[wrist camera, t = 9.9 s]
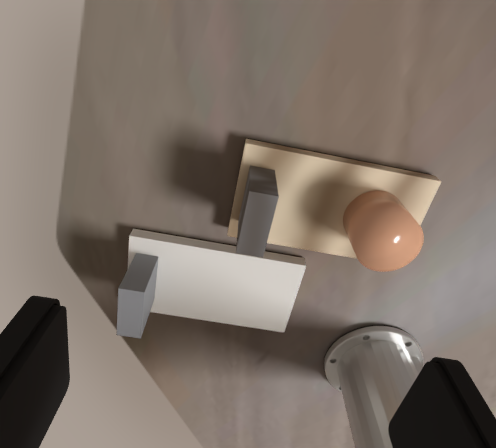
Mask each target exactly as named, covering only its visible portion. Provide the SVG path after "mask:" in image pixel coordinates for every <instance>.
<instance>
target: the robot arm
mask: <svg viewBox="0 0 496 448" xmlns="http://www.w3.org/2000/svg"><path fill="white" fill-rule="evenodd" d="M324 369H325V373H326V377H327V379H328V381H329V383H330V384H331V385H332V386H333V387H334V388H335V389H337V390H338V391H340V392H342V394H343V399H344V403H345V407H346V411H347V415H348V419H349V424H350V428H351V432H352V436H353V440H354V444H355V448H496V419H495V417H494V415H493V414H492V412H491V410H490V409H489V407H488V405H487V404H486V402H485V400H484V399H483V397H482V395H481V394H480V392H479V391H478V389H477V387H476V386H475V384H474V382H473V381H472V379H471V377H470V376H469V374H468V372H467V371H466V369H465V368H464V366H463V365H462V363H461V362H459V361H458V360H452V359H445V358H439V357H435V358H433V359H432V360H431V361H430V362H427V363H426V364H425V365H424V367H423V353H422V351H421V348H420V346H419V344H418V343H417V341H416V340H415V339H414V338H413V337H412V336H411V335H410V334H408V333H406V332H405V331H403V330H400V329H397V328H394V327H388V326H371V327H365V328H361V329H357V330H354V331H352V332H350V333H347V334H346V335H344V336H343V337H341V338H339V339H338V340H337V341H336V342H335V343H334V344H333V345H332V346H331V347H330V349H329V350H328V352H327V354H326V356H325V360H324ZM69 380H70V374H69V354H68V334H67V316H66V308H65V307H64V306H60V302H59V300H58V299H52V298H46V297H40V296H31V297H30V298H29V299H28V300H27V301H26V303H25V304H24V305H23V307H22V308H21V309H20V310H19V311H18V313H17V314H16V315H15V316H14V318H13V319H12V320H11V321H10V323H9V324H8V325H7V326H6V328H5V329H4V330H3V332H2V333H1V334H0V448H39V446H40V444H41V442H42V440H43V438H44V436H45V434H46V432H47V430H48V428H49V426H50V424H51V422H52V420H53V418H54V416H55V414H56V412H57V410H58V408H59V406H60V404H61V402H62V400H63V398H64V396H65V394H66V391H67V389H68V385H69Z"/></svg>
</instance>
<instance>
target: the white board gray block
mask: <svg viewBox="0 0 496 448" xmlns="http://www.w3.org/2000/svg"><path fill="white" fill-rule="evenodd" d="M236 247H237V246H232V245H226V244H220V243H214V242H208V241H202V240H197V239H191V238H185V237H179V236H173V235H168V234H162V233H156V232H150V231H144V230H139V229H133V230H132V232H131V234H130V235H129V251H128V270H127V272H126V274H125V276H124V278H123V280H122V282H121V284H120V286H119V288H118V312H117V335H120V336H127V337H134V338H141V336H142V333H143V331H144V328H145V325H146V322H147V319H148V316H149V313H150V312H154V313H160V314H167V315H173V316H180V317H186V318H193V319H199V320H206V321H212V322H219V323H225V324H232V325H238V326H245V327H251V328H258V329H264V330H271V331H277V332H283V333H284V332H285V329H286V326H287V323H288V320H289V317H290V314H291V311H292V307H293V304H294V301H295V298H296V295H297V292H298V289H299V286H300V283H301V280H302V277H303V274H304V271H305V268H306V262H305V258H301V257H295V256H290V255H284V254H278V253H272V252H266V251H265V252H264V256H263V258H262V257H256V256H250V255H244V254H238V253H236Z"/></svg>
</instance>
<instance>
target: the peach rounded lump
mask: <svg viewBox="0 0 496 448" xmlns="http://www.w3.org/2000/svg"><path fill="white" fill-rule="evenodd" d="M343 226H344V229H345V232H346V234H347V236H348V238H349V241H350V243H351V245H352V248H353V250H354V252H355V254H356V257H357V259H358V260H359V262H360V263H361V264H362V265H364V266H365V267H367V268H369V269H371V270H374V271H380V272H386V271H393V270H396V269H399V268H402V267H404V266H405V265H407V264H408V263H410V262H411V261H412V260H413V259H414V258H415V257H416V256H417V255H418V253H419V252H420V250H421V248H422V245H423V239H424V237H423V231H422V229H421V227H420V225H419V224H418V223H417V221H416V220H415V219H414V218H413V216H412V215H411V214H410V213H409V211H408V210H407V209H406V208H405V206H404V205H403V204H402V203H401V202H400V200H399V199H398V198H397V197H396V196H395V195H393V194H391V193H389V192H386V191H381V190H375V191H369V192H366V193H363V194H361V195H359V196H358V197H356V198H355V199H354V200H352V201H351V202H350V204H349V205H348V206H347V208H346V210H345V212H344V215H343Z"/></svg>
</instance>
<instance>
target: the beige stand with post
mask: <svg viewBox="0 0 496 448" xmlns="http://www.w3.org/2000/svg"><path fill="white" fill-rule="evenodd" d="M440 183H441V181H440V180H439V179H438V178H437V177H436V176H433V175H428V174H423V173H418V172H413V171H408V170H403V169H398V168H393V167H388V166H383V165H378V164H373V163H367V162H362V161H357V160H352V159H347V158H342V157H337V156H332V155H327V154H322V153H317V152H312V151H307V150H302V149H296V148H291V147H286V146H281V145H276V144H271V143H266V142H261V141H256V140H251V139H246V140H245V145H244V150H243V156H242V161H241V166H240V171H239V176H238V181H237V186H236V191H235V196H234V201H233V206H232V211H231V217H230V222H229V227H228V234H227V236H230V237H236V238H237V247H236V253H238V254H244V255H250V256H256V257H262V258H263V256H264V252H265V248H266V244H267V243H271V244H276V245H282V246H288V247H294V248H299V249H305V250H311V251H317V252H322V253H328V254H334V255H340V256H345V257H351V258H357V257H356V254H355V252H354V250H353V248H352V245H351V243H350V241H349V238H348V236H347V234H346V232H345V229H344V226H343V215H344V212H345V210H346V208H347V206H348V205H349V204H350V202H351V201H352V200H354V199H355V198H356V197H358V196H359V195H361V194H363V193H366V192H369V191H375V190H381V191H386V192H389V193H391V194H393V195H395V196H396V197H397V198H398V199H399V200H400V202H401V203H402V204H403V205H404V206H405V208H406V209H407V210H408V211H409V213H410V214H411V215H412V216H413V218H414V219H415V220H416V221H417V223H418V224H419V225H421V223H422V221H423V219H424V217H425V215H426V213H427V211H428V208H429V206H430V204H431V202H432V200H433V198H434V196H435V194H436V192H437V190H438V188H439V185H440Z"/></svg>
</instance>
